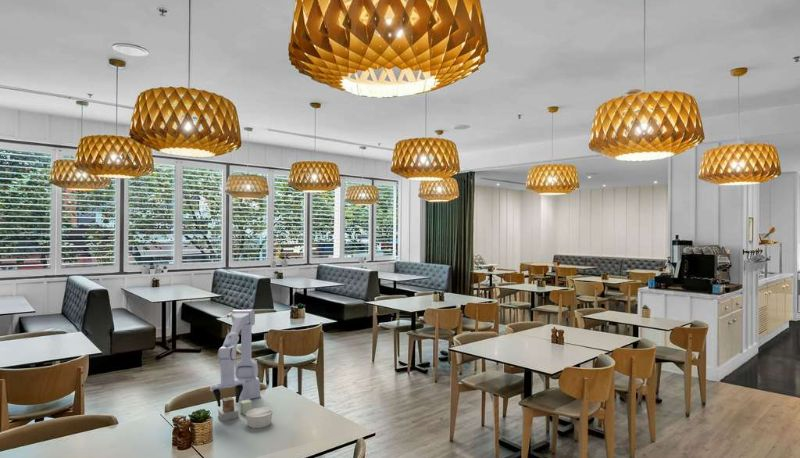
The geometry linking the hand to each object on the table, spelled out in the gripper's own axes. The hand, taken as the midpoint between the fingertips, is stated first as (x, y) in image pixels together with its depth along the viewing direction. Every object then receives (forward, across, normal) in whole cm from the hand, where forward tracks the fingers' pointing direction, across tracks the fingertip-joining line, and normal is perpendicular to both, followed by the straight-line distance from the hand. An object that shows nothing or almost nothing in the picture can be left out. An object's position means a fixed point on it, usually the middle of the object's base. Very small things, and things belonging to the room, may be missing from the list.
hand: (228, 404), depth 218 cm
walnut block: (+3, 0, 0) cm, 3 cm away
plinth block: (+6, 0, 0) cm, 6 cm away
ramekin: (+6, +9, -16) cm, 19 cm away
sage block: (+6, +8, +1) cm, 10 cm away
